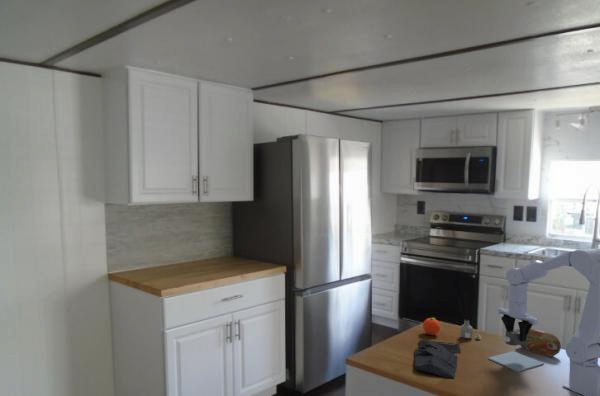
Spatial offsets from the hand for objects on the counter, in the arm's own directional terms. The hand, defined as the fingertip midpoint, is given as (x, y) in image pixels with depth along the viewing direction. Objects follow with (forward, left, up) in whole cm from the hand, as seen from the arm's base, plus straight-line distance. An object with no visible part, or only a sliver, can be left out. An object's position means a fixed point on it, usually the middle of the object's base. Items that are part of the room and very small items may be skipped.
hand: (516, 338), depth 154 cm
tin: (+2, -16, -9) cm, 18 cm away
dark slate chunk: (+12, +28, -9) cm, 31 cm away
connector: (0, 0, -1) cm, 1 cm away
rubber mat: (0, 0, -8) cm, 8 cm away
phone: (+22, +15, -9) cm, 28 cm away
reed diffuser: (+25, -4, -9) cm, 27 cm away
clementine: (+34, +7, -9) cm, 36 cm away
